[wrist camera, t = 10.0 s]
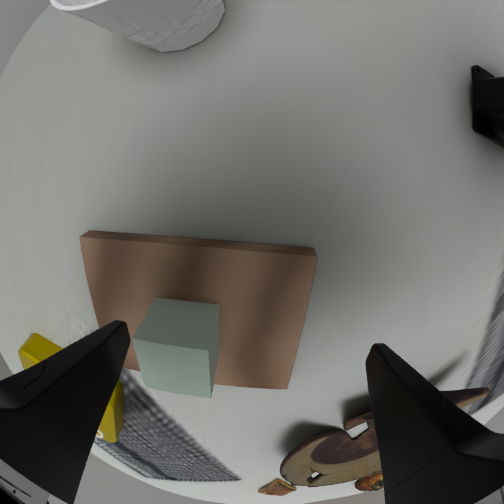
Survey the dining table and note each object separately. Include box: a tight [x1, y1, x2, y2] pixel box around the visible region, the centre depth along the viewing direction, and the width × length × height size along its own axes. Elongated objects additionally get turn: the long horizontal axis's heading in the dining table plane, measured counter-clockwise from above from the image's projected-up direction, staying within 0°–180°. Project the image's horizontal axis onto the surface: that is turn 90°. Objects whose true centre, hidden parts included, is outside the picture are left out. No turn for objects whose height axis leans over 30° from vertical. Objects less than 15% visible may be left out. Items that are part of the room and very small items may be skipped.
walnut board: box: [80, 231, 317, 389], centre depth 22 cm, size 18×14×2 cm
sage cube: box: [132, 297, 220, 398], centre depth 19 cm, size 5×5×5 cm
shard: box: [258, 478, 296, 496], centre depth 40 cm, size 11×8×2 cm
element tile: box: [18, 333, 124, 443], centre depth 27 cm, size 15×15×5 cm
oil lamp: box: [280, 387, 490, 487], centre depth 26 cm, size 22×30×8 cm
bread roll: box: [355, 471, 384, 492], centre depth 40 cm, size 11×11×5 cm
